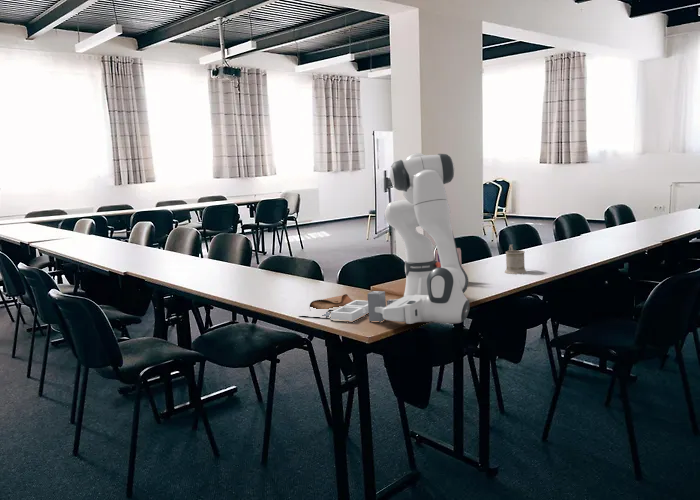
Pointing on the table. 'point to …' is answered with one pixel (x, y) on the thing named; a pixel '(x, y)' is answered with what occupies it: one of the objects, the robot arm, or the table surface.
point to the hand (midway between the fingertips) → (381, 305)
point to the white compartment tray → (351, 311)
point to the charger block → (376, 300)
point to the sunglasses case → (331, 302)
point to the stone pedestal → (515, 261)
